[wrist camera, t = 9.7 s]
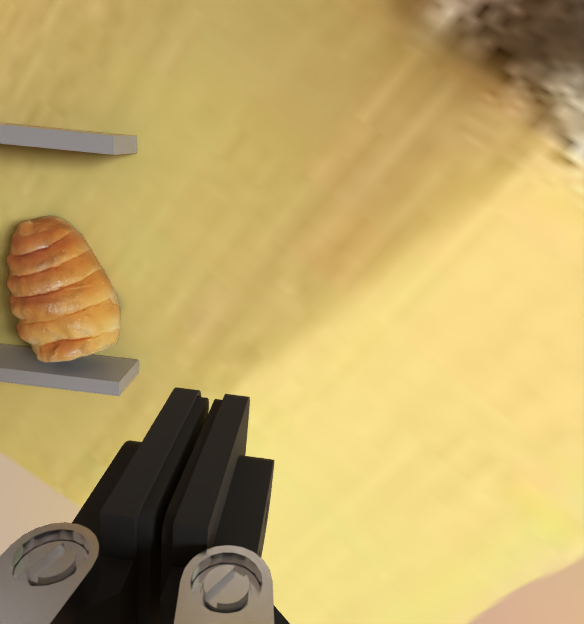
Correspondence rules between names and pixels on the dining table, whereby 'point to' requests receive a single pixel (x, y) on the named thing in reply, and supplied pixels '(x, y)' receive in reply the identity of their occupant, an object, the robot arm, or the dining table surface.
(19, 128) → the gray u-shaped fence
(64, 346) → the pastry
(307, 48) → the dining table surface
